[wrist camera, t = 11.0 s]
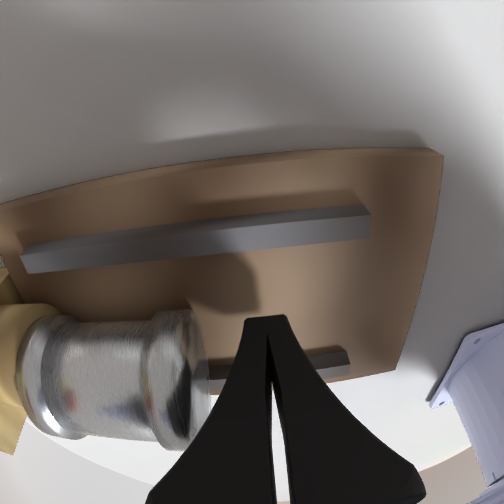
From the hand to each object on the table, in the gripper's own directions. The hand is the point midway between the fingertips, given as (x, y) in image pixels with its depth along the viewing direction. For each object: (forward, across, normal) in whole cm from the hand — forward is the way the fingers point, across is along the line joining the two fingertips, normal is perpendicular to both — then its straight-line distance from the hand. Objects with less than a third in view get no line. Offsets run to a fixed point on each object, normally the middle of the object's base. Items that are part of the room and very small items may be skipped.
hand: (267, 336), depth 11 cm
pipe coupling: (+1, +6, 0) cm, 6 cm away
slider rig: (+2, +5, 0) cm, 5 cm away
